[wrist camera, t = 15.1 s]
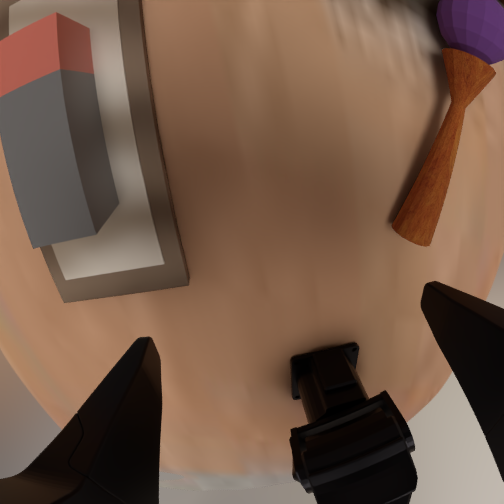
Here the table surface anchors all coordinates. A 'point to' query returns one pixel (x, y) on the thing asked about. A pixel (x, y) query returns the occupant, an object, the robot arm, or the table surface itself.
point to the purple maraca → (453, 105)
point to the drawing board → (116, 160)
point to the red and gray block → (54, 131)
